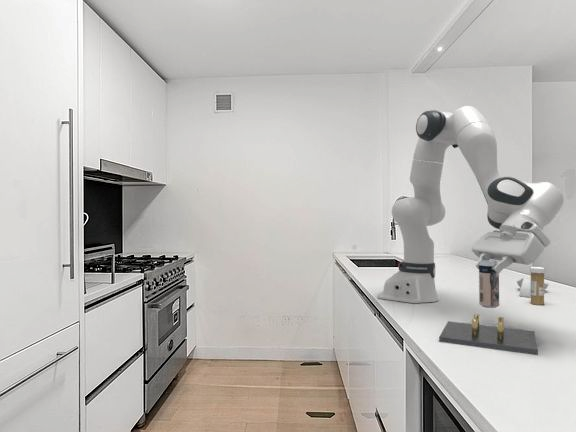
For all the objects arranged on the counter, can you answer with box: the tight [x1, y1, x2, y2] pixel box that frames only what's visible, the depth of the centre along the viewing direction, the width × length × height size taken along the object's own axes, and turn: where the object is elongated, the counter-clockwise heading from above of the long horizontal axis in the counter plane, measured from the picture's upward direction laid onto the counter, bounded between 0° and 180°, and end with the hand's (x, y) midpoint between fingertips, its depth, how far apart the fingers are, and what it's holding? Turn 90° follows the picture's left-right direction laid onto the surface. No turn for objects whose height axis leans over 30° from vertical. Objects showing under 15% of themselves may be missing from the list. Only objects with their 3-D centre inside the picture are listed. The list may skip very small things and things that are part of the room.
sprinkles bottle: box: [529, 266, 546, 306], centre depth 156 cm, size 5×5×14 cm
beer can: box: [478, 259, 500, 309], centre depth 112 cm, size 5×5×12 cm
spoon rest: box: [516, 277, 549, 299], centre depth 177 cm, size 24×12×7 cm, turn 144°
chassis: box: [438, 314, 539, 356], centre depth 113 cm, size 22×18×5 cm
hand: (486, 269), depth 112 cm, fingers closed on beer can, 5 cm apart
